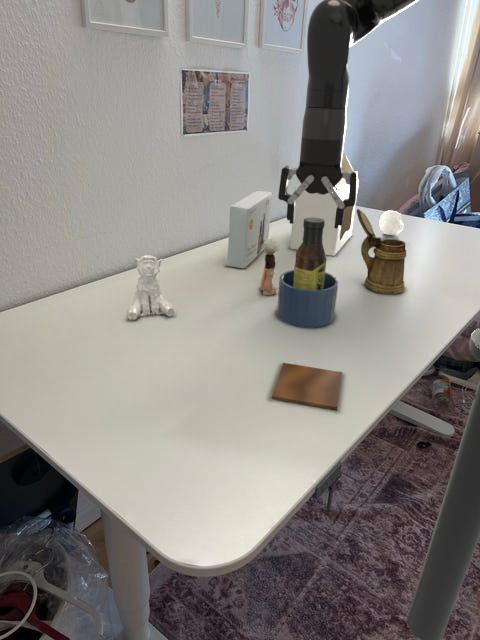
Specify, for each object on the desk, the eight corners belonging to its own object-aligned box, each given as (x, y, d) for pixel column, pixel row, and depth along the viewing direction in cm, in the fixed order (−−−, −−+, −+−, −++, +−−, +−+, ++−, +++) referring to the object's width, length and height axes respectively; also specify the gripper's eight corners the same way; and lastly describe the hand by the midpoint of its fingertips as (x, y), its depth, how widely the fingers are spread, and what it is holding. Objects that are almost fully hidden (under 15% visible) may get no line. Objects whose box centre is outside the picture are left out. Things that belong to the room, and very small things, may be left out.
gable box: (311, 229, 157) (320, 139, 144) (351, 235, 152) (364, 142, 139) (289, 249, 138) (297, 147, 126) (334, 256, 134) (347, 151, 121)
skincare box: (246, 269, 123) (248, 208, 116) (226, 266, 125) (227, 206, 117) (270, 246, 141) (273, 191, 134) (252, 243, 142) (254, 189, 135)
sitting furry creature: (127, 321, 96) (122, 265, 91) (125, 303, 103) (120, 250, 98) (174, 317, 98) (172, 261, 93) (168, 299, 106) (166, 247, 100)
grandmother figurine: (256, 286, 114) (258, 234, 108) (271, 285, 114) (274, 233, 109) (264, 299, 107) (266, 245, 101) (280, 298, 108) (284, 244, 102)
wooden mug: (350, 274, 122) (359, 204, 113) (405, 283, 117) (419, 210, 109) (343, 287, 114) (353, 212, 106) (402, 297, 110) (417, 220, 102)
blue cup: (336, 306, 105) (340, 272, 101) (331, 331, 94) (335, 294, 91) (282, 299, 107) (285, 266, 104) (272, 323, 97) (274, 286, 93)
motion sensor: (401, 239, 149) (406, 215, 146) (376, 236, 151) (380, 212, 148) (401, 232, 156) (405, 208, 153) (377, 230, 158) (381, 206, 155)
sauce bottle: (320, 321, 97) (330, 225, 88) (289, 318, 98) (297, 223, 89) (321, 307, 103) (331, 216, 94) (292, 304, 104) (299, 214, 95)
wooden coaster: (341, 374, 81) (341, 371, 80) (336, 410, 72) (337, 407, 72) (283, 365, 83) (283, 362, 83) (271, 398, 74) (271, 395, 74)
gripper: (279, 135, 83) (274, 226, 90) (363, 140, 80) (350, 234, 87) (287, 131, 89) (281, 216, 97) (364, 135, 86) (352, 223, 94)
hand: (314, 225), depth 92 cm, fingers open, 8 cm apart
